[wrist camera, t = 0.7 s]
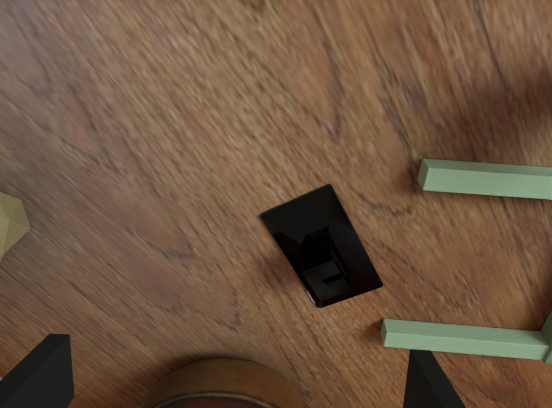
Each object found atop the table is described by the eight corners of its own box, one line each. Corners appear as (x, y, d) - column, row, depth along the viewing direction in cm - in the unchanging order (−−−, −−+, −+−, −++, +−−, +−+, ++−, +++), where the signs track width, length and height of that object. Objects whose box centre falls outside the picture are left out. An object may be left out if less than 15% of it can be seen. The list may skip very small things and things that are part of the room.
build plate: (383, 283, 41) (391, 317, 36) (316, 306, 43) (317, 341, 39) (330, 182, 35) (334, 210, 31) (257, 214, 37) (251, 244, 33)
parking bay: (422, 158, 34) (429, 170, 32) (640, 173, 33) (663, 186, 31) (380, 332, 44) (383, 350, 41) (548, 346, 43) (560, 365, 41)
